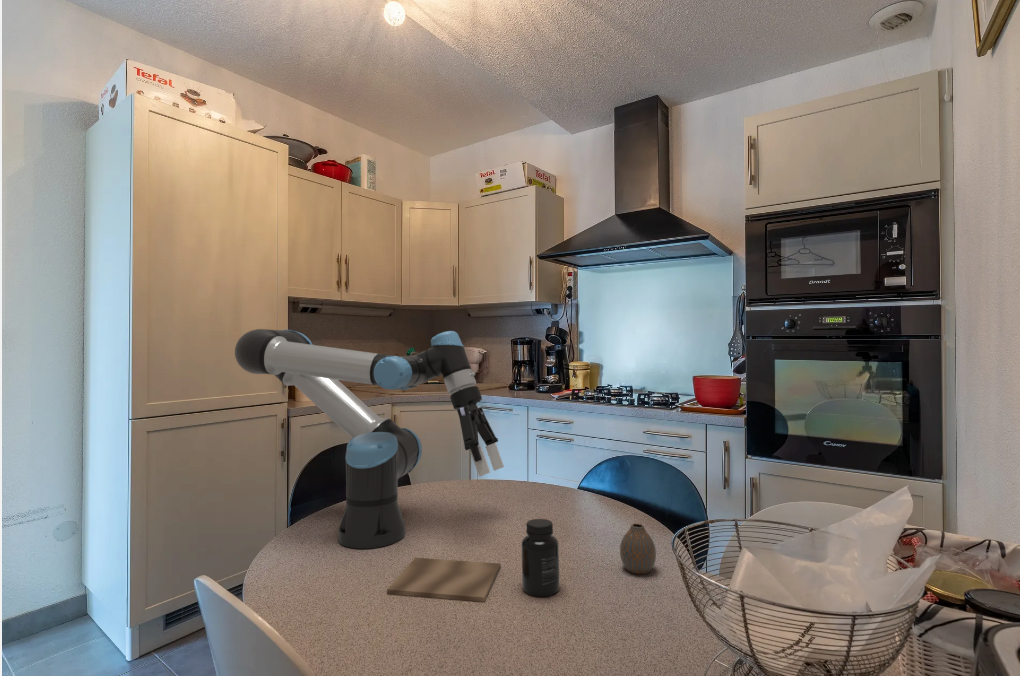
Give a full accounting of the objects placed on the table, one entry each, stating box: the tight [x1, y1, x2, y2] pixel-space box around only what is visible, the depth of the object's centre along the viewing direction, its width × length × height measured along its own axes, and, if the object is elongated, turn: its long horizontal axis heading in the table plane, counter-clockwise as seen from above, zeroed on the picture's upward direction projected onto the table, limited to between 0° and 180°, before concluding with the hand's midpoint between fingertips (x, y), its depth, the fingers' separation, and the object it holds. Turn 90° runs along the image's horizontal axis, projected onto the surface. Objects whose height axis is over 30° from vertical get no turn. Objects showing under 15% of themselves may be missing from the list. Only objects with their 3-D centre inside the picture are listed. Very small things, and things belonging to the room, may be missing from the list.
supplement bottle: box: [521, 518, 561, 598], centre depth 93 cm, size 7×7×12 cm
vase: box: [619, 522, 657, 575], centre depth 100 cm, size 7×7×9 cm
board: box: [386, 557, 502, 603], centre depth 96 cm, size 18×14×1 cm
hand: (492, 471), depth 123 cm, fingers open, 13 cm apart
